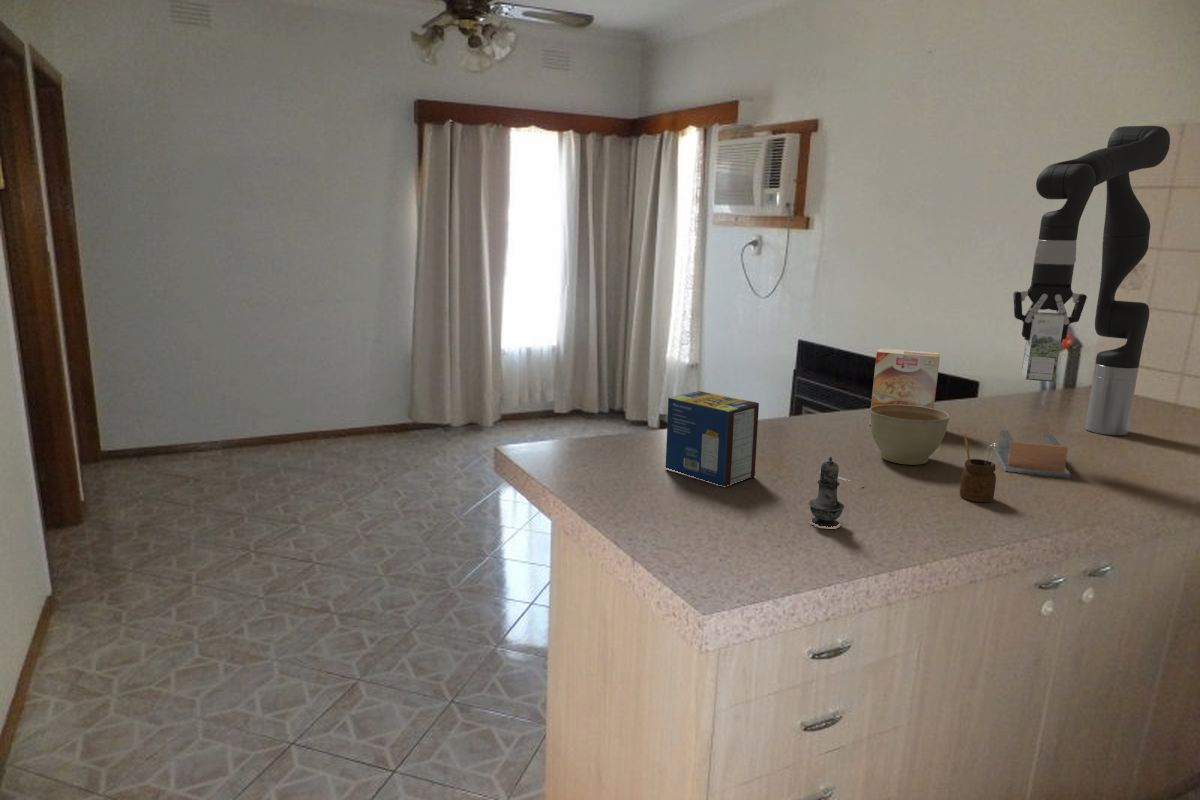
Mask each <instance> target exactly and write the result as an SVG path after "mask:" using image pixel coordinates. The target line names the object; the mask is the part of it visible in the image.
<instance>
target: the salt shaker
mask: <svg viewBox="0 0 1200 800" xmlns="http://www.w3.org/2000/svg"><path fill="white" fill-rule="evenodd" d="M839 469H840V467H839V465H838V463H836V462H834V461H833V458H832V456H829V457H828V460H827V461H825V462H823V463H822V464H821V465H820V471H821V473H819V474H820V475H819V480H817V484H818V493H817V496H816V498H813V499H811V500H809V501H808V504H809V506H810V512H811V514H812V515H813V516H814V517H812V518H811V519H812V522H813V523H815V524H818V525H819V526H826V527H827V526H828V527H831V526H832V527H833V526H837V525H838V524H839V523H840V522H839V521H838V520H837V519H838V518H840V517H841V515H842V513H843V510H844V509H845V504H844V503H842V502H841V501H839V500H838V487H839V486H840V481H838V477H839Z"/></svg>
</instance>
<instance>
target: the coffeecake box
mask: <svg viewBox="0 0 1200 800" xmlns="http://www.w3.org/2000/svg"><path fill="white" fill-rule="evenodd" d="M940 355H941V354H940V352H934V351H933V352H932V351H931V352H930V351H920V350H919V351H917V350H908V349H907V350H906V349H894V348H893V349H892V348H882V347H881V348H877V350H876V355H875V364H874V373H873V375H874V376H873V385H872V394H871V402H870V403H871V405H870V408H871V407H873V406H877V405H890V404H891V405H911V406H920V407H927V408H932V409H935V401H936V400H935V399H936V393H937V385H938V376H939V368H940V367H939V366H940V359H941V358H940ZM870 419H871V415H869V420H870ZM868 423H869V424H871V422H870V421H869V422H868Z"/></svg>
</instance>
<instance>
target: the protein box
mask: <svg viewBox="0 0 1200 800" xmlns="http://www.w3.org/2000/svg"><path fill="white" fill-rule="evenodd" d="M759 406H760V403H759V402H755V401H751V400H745V399H741V398H735V397H731V396H726V395H721V394H715V393H710V392H705V391H702V390H701V391H700V390H698V391H694V392H687V393H684V394H680V395H674V396H669V397H668V400H667V422H666V423H667V425H666V447H665V448H666V449H665V467H666V468H669V469H672V470H675V471H678V472H681V473H684V474H687V475H690V476H694V477H696V478H699V479H703V480H705V481H709V482H712V483H715V484H718V485H722V486H727V485H730V484H732V483H735V482H738V481H741V480H744V479H748V478H751V477H754V476H755V477H756V458H757V445H758V444H757V443H758V442H757V441H758V425H759V409H760V408H759ZM755 477H754V478H755ZM751 479H752V478H751ZM748 480H749V479H748Z"/></svg>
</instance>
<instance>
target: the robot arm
mask: <svg viewBox="0 0 1200 800" xmlns="http://www.w3.org/2000/svg"><path fill="white" fill-rule="evenodd" d="M1170 146H1171V135H1170V132H1169V131H1168V129H1167V128H1166V127H1163V126H1160V125H1127V126H1126V125H1125V126H1119V127H1117V128H1115V129H1113V131H1112V132H1111V133H1110V136H1109V138H1108V142H1107V146H1106V147H1103V148H1099V149H1096V150H1093V151H1091V152H1087V153H1085V154H1083V155H1082V156H1080V157H1078V158H1074V159H1069V160H1065V161H1060V162H1055V163H1052V164H1050V165H1048V166H1046V167H1045V168H1043V169H1042V170H1041V172H1040V173H1039V174H1038V176H1037V179H1036V181H1035V182H1036V183H1035V184H1036V185H1035V187H1036V191H1037V192H1036V193H1038V194H1039V196H1040V197H1042V198H1043V199H1046V200H1066V201H1065V203H1064V205H1063V206H1062V207H1061V208H1060V209H1059V208H1058V209H1056V210H1052V211H1047V212H1045V213H1044V214H1043V215H1042V216H1041V220H1040V228H1039V234H1038V240H1037V245H1036V248H1035V251H1034V252H1035V254H1034V260H1033V267H1032V275H1031V283H1030V287H1029V288H1028V289H1027V290H1023V291H1016V290H1015V291H1014V292H1013V295H1012V296H1013V312H1014V313H1013V315H1014V318H1015V319H1016V320H1019V321H1022V330H1021V336H1022V337H1023V338H1024V339H1023V340H1025V341H1026V340H1030V333H1031V326H1032V323H1031V320H1032V319H1033V315H1034V313H1035V314H1036V313H1037V312H1040V310H1041V311H1043V310H1044V311H1045V310H1051V311H1056V312H1055V313H1059V314H1060V315H1063V316H1064V325H1063V331H1062V337H1061V343H1062V342H1063V340H1066V339H1067V335H1068V329H1069V325H1071V324H1072V323H1078V322H1080V319H1081V316H1082V313H1083V310H1084V307H1085V305H1086V301H1087V299H1088V296H1087V295H1086V294H1083V293H1074V292H1073V290H1072V282H1073V277H1074V269H1075V264H1076V259H1077V240H1078V233H1079V226H1080V220H1081V218H1082V216H1083V213H1084V211H1085V208H1086V206H1087V204H1088V201H1089V199H1090V197H1091V195H1092V192H1094V188H1095V187H1097V186H1100V185H1101V184H1102V183H1105V182H1106V203H1105V204H1106V205H1105V217H1104V227H1103V233H1102V234H1103V235H1102V251H1101V252H1102V253H1101V274H1100V283H1099V291H1098V298H1097V304H1096V310H1095V318H1094V329H1095V333H1096V334H1097V335H1098V336H1100V337H1105V338H1114V339H1123V340H1124V339H1125V340H1126V342H1125V344H1123V345H1121V346H1120V347H1117V348H1112V349H1107V350H1102V351H1099V352H1098V353H1097V354H1096V355H1095V363H1094V369H1093V376H1092V382H1091V388H1090V395H1089V399H1088V400H1089V402H1088V405H1087V407H1088V408H1087V414H1086V420H1085V424H1084V427H1085V428H1084V429H1085V430H1087V431H1089V432H1093V433H1095V434H1096V433H1097V434H1101V435H1107V436H1109V435H1110V436H1126V435H1127V434H1128V433H1129V432H1128V431H1129V425H1130V420H1131V415H1132V408H1133V402H1134V396H1135V390H1136V386H1137V380H1138V374H1139V367H1140V361H1141V356H1142V351H1143V345H1144V341H1145V336H1146V333H1147V328H1148V324H1149V319H1150V307H1149V305H1148V304H1147V303H1145V302H1141V301H1140V302H1139V301H1129V300H1128V301H1125V300H1116V299H1115V296H1116V292H1117V290H1118V289H1119V287H1120V285H1121V284H1122V283H1123V281H1124V280H1125V279H1126V277H1128V275H1129V274H1130V273H1132V271H1133V269H1135V268H1136V266H1138V264H1139V263H1140V262H1141V261H1142V260H1143V259H1144V258H1145V256H1146V254H1147V252H1148V250H1149V244H1150V234H1151V221H1150V219H1149V216H1148V214H1147V211H1146V210H1145V209H1144V207H1143V205H1142V203H1141V202H1140V201H1139V200H1138V198H1137V196H1136V194H1135V192H1134V190H1133V188H1132V185H1131V179H1130V173H1131V172H1134V171H1139V170H1143V169H1144V170H1145V169H1151V168H1155V167H1157V166H1159V165H1160V164H1161V163H1162V162H1164V160H1165V159H1166V157H1167V156H1168V153H1169V150H1170ZM1027 297H1028V298H1029V299H1030V301H1031V302H1032V304H1030V306H1029V308H1028V309H1027V312H1026V313H1025V314H1023V302H1024V301H1025V300H1026V298H1027ZM1070 299H1072V303H1074V306H1073V309H1072V312H1071V315H1070V316H1068V314H1067V310H1066V307H1065V304H1066V303H1067V302H1068V301H1069V300H1070Z"/></svg>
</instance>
